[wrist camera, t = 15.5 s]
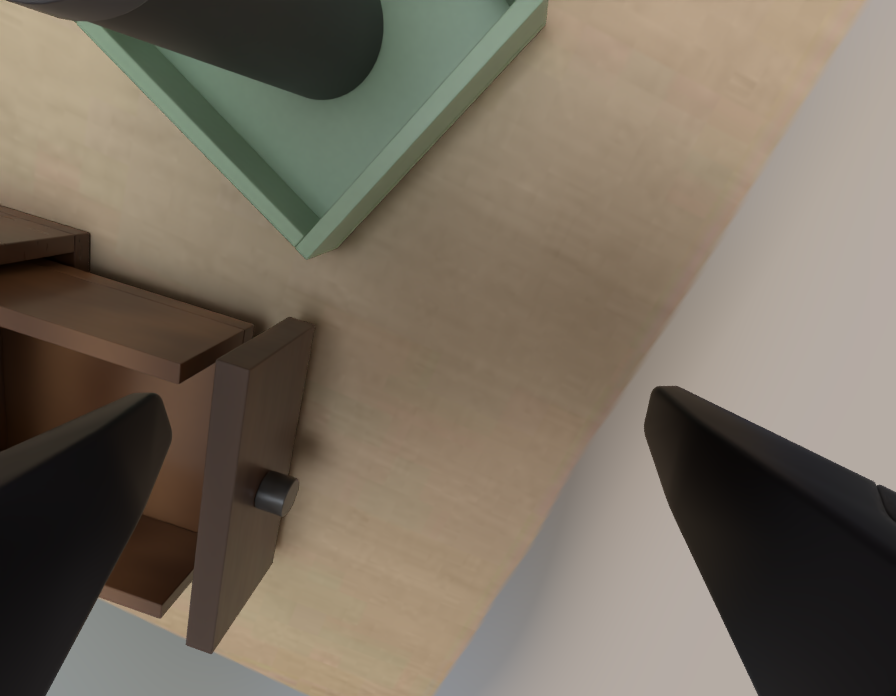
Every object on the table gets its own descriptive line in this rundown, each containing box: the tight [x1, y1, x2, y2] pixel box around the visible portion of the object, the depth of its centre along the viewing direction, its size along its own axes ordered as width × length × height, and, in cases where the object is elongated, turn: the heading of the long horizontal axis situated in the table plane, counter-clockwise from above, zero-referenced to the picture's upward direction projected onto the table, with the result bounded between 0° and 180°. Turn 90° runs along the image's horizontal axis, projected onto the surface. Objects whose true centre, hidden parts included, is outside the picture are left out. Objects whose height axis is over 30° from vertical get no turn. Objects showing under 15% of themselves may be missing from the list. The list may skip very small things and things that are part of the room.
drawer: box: [0, 258, 315, 654], centre depth 21 cm, size 16×13×5 cm
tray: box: [74, 0, 548, 260], centre depth 17 cm, size 11×11×3 cm
